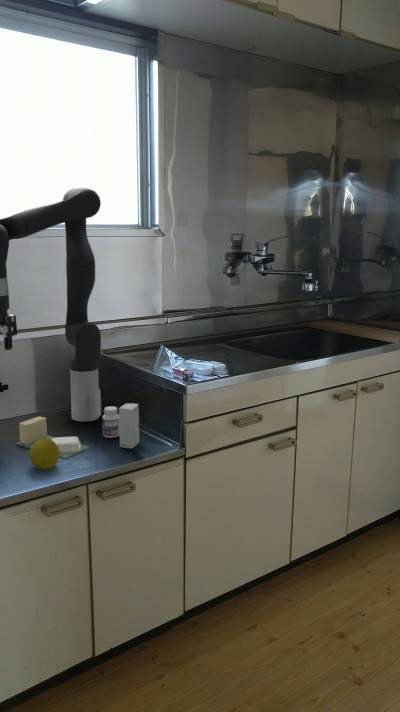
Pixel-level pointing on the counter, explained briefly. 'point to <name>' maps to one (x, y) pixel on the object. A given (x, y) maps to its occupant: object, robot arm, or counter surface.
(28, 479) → the counter surface
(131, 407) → the skincare box
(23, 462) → the counter surface
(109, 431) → the pill bottle
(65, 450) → the soap
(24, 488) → the counter surface
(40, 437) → the pale green tray
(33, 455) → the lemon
